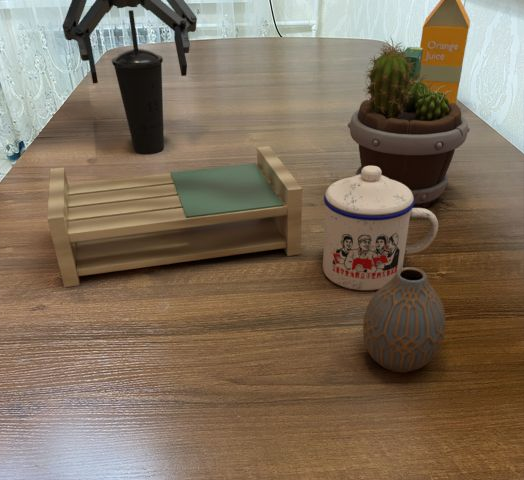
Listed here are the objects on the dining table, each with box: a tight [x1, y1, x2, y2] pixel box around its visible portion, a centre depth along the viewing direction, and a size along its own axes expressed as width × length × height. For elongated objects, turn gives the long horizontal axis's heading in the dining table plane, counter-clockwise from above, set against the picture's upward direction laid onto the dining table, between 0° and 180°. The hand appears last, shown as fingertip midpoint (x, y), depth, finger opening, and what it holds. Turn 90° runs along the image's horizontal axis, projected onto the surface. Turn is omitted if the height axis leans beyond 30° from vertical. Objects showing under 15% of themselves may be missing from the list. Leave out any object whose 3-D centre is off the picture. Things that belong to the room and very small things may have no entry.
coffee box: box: [402, 46, 423, 81], centre depth 99 cm, size 8×3×13 cm, turn 160°
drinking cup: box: [110, 9, 165, 155], centre depth 93 cm, size 8×8×20 cm
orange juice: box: [419, 0, 471, 105], centre depth 108 cm, size 8×9×20 cm
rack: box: [46, 145, 303, 288], centre depth 71 cm, size 14×27×8 cm, turn 104°
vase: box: [362, 266, 447, 373], centre depth 52 cm, size 7×7×9 cm
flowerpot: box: [347, 36, 470, 209], centre depth 77 cm, size 14×15×20 cm
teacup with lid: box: [322, 166, 439, 291], centre depth 63 cm, size 12×9×12 cm
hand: (140, 74), depth 93 cm, fingers open, 13 cm apart
